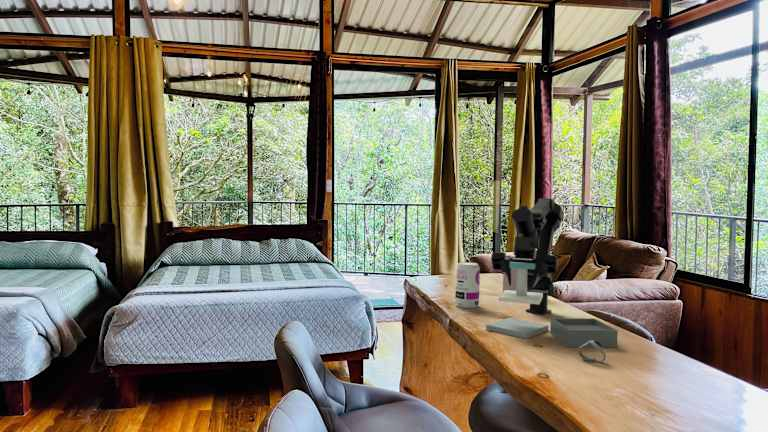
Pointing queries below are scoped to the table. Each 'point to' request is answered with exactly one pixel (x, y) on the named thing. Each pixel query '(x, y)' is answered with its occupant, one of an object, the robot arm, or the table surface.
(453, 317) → the table surface
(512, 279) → the greeting card
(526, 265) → the cover
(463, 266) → the supplement can
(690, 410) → the table surface
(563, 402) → the table surface
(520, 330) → the pad
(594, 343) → the wristwatch
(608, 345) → the housing
